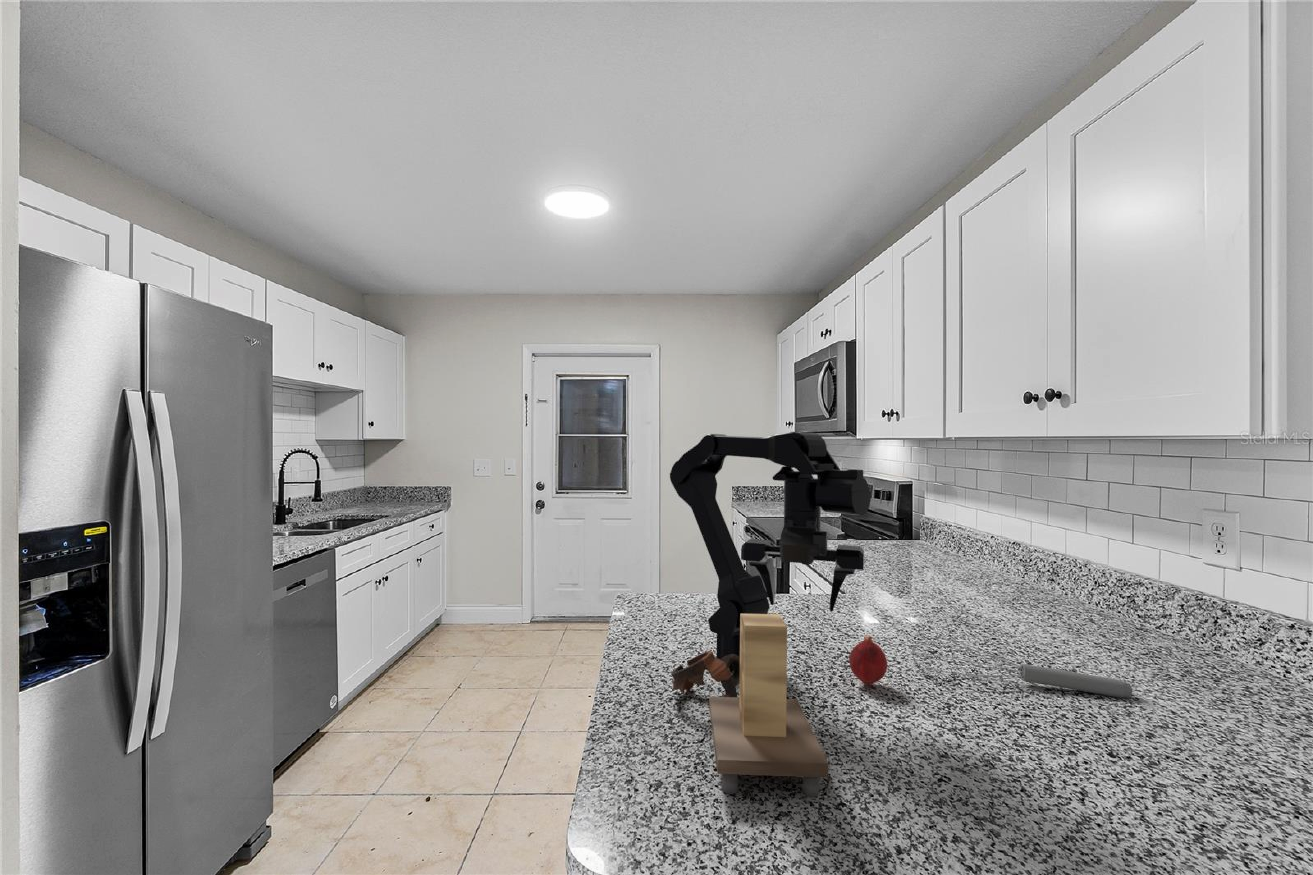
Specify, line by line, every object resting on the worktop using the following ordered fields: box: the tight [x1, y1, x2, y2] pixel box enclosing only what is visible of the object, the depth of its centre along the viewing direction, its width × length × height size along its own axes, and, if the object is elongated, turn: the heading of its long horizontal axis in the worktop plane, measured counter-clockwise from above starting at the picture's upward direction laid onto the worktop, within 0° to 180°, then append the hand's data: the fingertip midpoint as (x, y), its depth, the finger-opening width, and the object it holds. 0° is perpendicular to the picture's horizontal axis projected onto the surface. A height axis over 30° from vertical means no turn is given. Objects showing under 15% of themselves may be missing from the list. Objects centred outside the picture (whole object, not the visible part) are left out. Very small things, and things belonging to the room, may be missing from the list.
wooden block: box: [738, 613, 788, 737], centre depth 70 cm, size 5×5×13 cm
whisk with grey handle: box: [910, 637, 1147, 699], centre depth 94 cm, size 6×34×6 cm, turn 73°
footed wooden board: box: [708, 696, 829, 798], centre depth 70 cm, size 16×12×4 cm
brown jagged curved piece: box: [670, 650, 740, 697], centre depth 87 cm, size 12×10×8 cm
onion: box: [848, 634, 888, 687], centre depth 92 cm, size 6×6×8 cm
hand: (801, 607), depth 91 cm, fingers open, 9 cm apart
